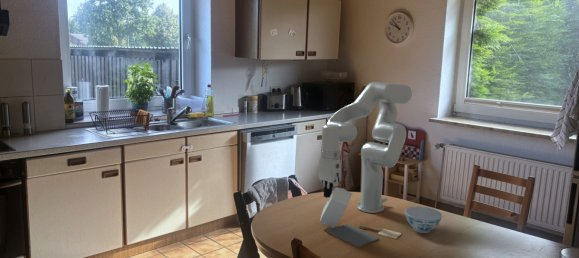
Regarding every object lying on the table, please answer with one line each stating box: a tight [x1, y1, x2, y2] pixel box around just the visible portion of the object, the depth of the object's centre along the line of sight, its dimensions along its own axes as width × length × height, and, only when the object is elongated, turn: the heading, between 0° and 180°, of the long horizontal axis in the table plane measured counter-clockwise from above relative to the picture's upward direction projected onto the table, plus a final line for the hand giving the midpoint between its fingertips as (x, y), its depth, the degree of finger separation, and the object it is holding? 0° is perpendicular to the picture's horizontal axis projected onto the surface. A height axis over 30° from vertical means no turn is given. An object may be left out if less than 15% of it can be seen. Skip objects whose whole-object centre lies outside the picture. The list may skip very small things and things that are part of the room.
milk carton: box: [319, 186, 353, 229], centre depth 204 cm, size 7×7×19 cm
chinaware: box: [404, 205, 443, 234], centre depth 207 cm, size 15×15×8 cm
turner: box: [358, 224, 402, 240], centre depth 204 cm, size 6×17×1 cm, turn 58°
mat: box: [326, 223, 380, 248], centre depth 200 cm, size 12×18×1 cm, turn 38°
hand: (327, 196), depth 207 cm, fingers closed
